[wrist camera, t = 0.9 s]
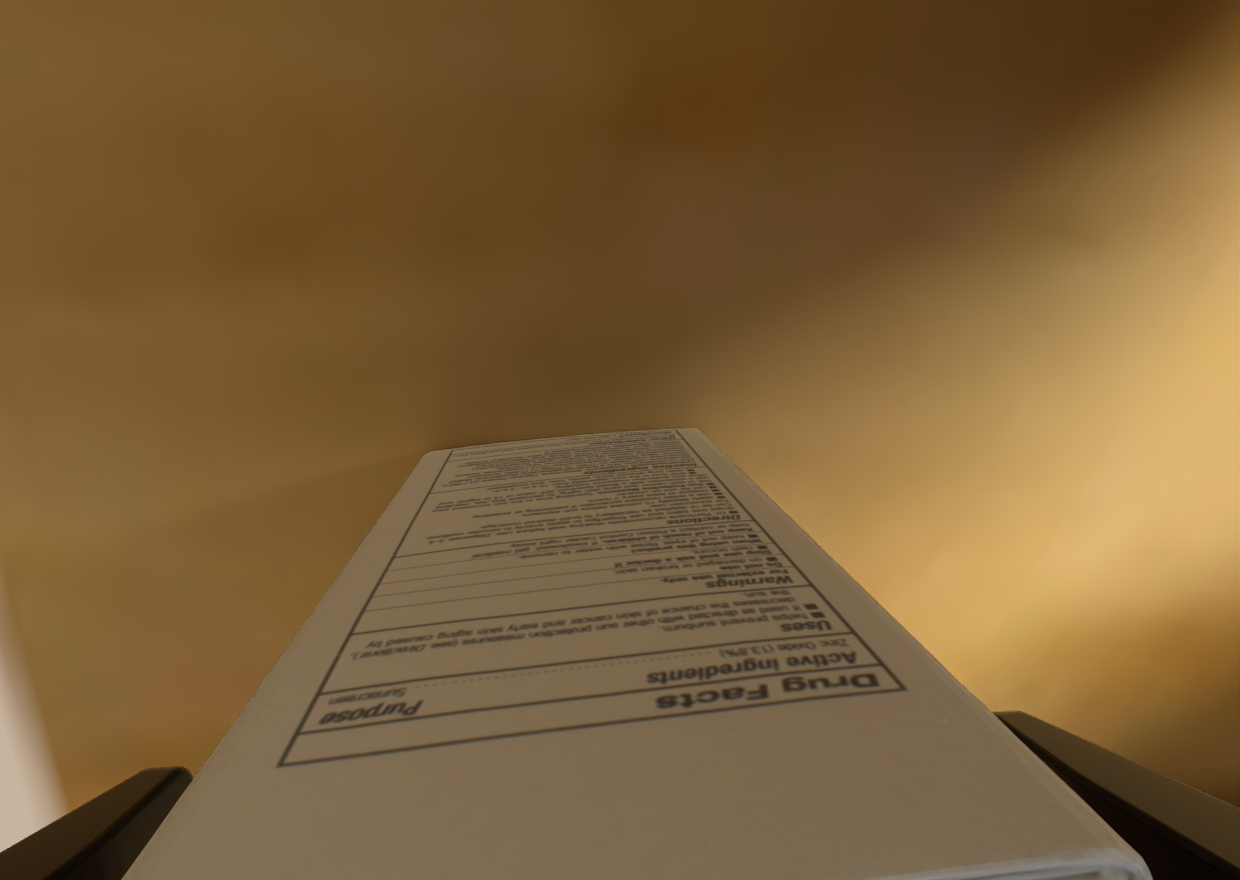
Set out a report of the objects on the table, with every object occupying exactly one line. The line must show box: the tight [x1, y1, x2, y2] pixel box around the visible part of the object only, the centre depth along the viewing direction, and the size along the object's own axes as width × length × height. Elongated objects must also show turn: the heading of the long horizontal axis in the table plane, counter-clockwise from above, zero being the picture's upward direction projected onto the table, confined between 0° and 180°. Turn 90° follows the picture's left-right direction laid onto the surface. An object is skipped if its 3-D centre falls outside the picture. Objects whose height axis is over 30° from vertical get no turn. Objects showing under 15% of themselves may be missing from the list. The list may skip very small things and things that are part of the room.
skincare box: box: [121, 428, 1153, 880], centre depth 10 cm, size 6×4×12 cm
